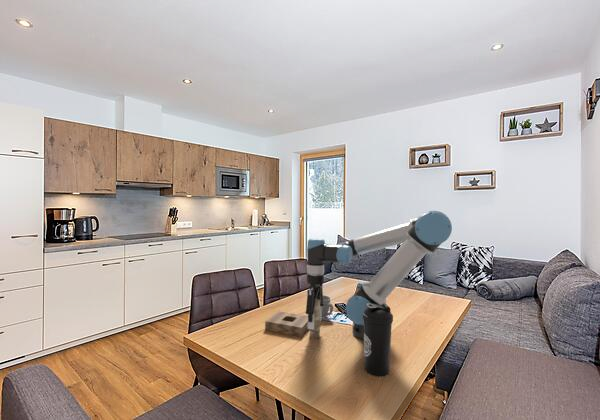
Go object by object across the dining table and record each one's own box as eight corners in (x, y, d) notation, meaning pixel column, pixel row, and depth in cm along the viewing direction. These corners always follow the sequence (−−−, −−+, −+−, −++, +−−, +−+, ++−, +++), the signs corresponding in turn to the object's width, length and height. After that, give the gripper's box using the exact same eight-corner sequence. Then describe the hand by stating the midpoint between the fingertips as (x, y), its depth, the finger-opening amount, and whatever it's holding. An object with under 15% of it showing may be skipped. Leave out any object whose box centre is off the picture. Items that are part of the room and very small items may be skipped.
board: (312, 324, 145) (312, 316, 144) (301, 336, 132) (301, 327, 131) (278, 319, 151) (278, 311, 151) (265, 329, 138) (265, 321, 138)
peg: (321, 334, 134) (321, 299, 133) (317, 339, 130) (318, 302, 129) (311, 333, 135) (312, 297, 135) (308, 337, 131) (308, 300, 131)
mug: (309, 315, 156) (309, 297, 156) (321, 311, 162) (321, 294, 162) (326, 322, 148) (326, 303, 147) (338, 318, 153) (338, 299, 153)
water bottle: (358, 362, 111) (359, 300, 110) (385, 361, 111) (386, 300, 111) (367, 378, 100) (368, 310, 100) (396, 377, 101) (397, 309, 101)
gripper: (315, 268, 144) (314, 314, 144) (298, 278, 123) (297, 332, 124) (330, 269, 141) (329, 317, 141) (315, 280, 120) (314, 336, 121)
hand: (314, 324), depth 132 cm, fingers open, 9 cm apart
